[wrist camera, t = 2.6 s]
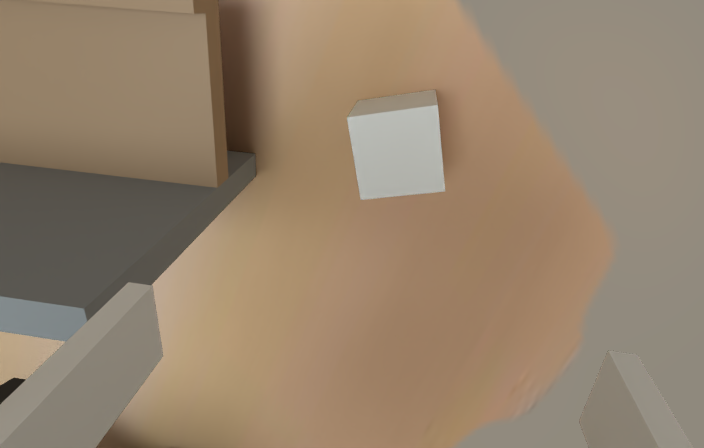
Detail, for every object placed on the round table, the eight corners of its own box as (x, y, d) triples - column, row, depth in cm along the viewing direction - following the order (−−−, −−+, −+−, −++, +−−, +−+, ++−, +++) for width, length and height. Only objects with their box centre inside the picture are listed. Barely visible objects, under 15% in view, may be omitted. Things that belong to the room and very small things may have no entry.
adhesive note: (435, 88, 35) (438, 104, 29) (442, 164, 37) (445, 191, 32) (357, 100, 36) (346, 117, 30) (368, 172, 38) (360, 200, 33)
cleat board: (255, 175, 40) (92, 345, 20) (22, 149, 42) (-332, 279, 22) (250, -5, 33) (7, -13, 14) (-24, -25, 36) (-571, -58, 16)
